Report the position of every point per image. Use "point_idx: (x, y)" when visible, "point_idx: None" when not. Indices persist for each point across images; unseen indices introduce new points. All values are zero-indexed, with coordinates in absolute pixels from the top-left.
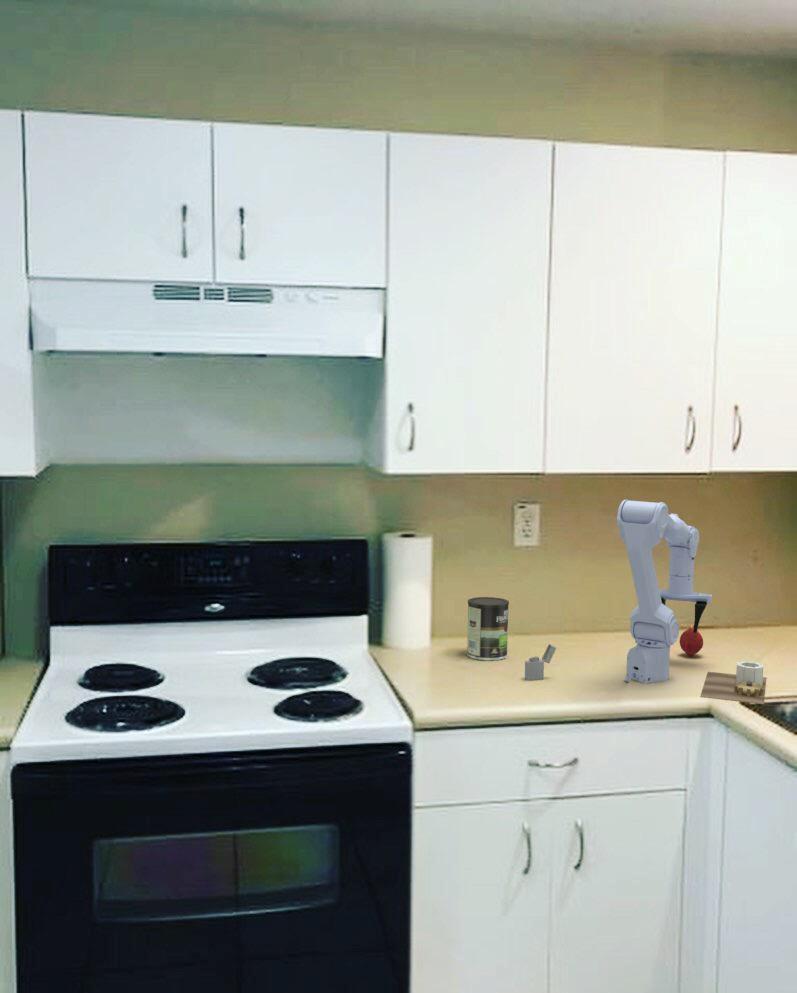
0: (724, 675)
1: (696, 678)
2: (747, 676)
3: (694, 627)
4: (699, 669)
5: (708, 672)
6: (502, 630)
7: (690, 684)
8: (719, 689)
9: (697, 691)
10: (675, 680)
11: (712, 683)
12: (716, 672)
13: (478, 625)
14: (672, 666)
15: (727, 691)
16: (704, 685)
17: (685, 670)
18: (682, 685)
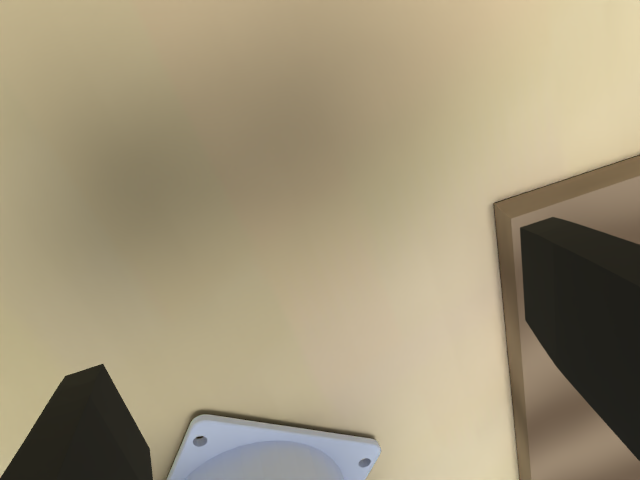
0: (615, 232)
1: (440, 284)
2: None
3: (577, 378)
4: (404, 56)
5: (517, 236)
6: None
7: (439, 400)
8: (603, 462)
9: (493, 463)
10: (348, 394)
11: (565, 410)
12: (564, 201)
13: None
14: (194, 113)
15: (636, 461)
16: (533, 460)
17: (323, 157)
18: (408, 439)
